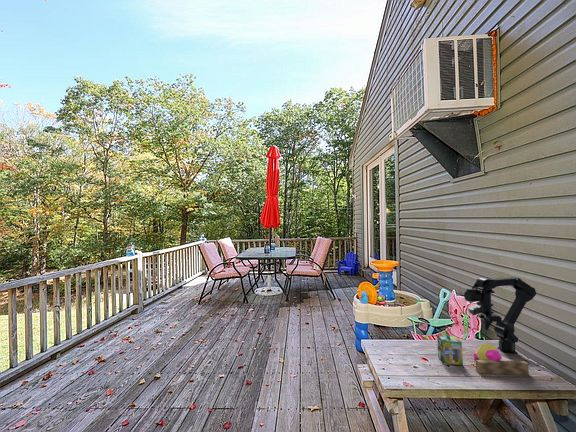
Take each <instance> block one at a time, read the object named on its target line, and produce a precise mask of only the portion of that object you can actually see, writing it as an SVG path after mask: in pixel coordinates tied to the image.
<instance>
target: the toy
mask: <svg viewBox="0 0 576 432" xmlns="http://www.w3.org/2000/svg"><path fill="white" fill-rule="evenodd" d="M473 358H474V359H475V360H496V361H502V360H501V359H502V355H501V354H500V352H499V350H498V349H497V348H496V347H495V345H494V344H486V343H485V344H483V343H482V344H480V346H479V348H477V349H476V350H475V351H473Z"/></svg>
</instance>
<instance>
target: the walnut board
mask: <svg viewBox="0 0 576 432" xmlns="http://www.w3.org/2000/svg"><path fill="white" fill-rule="evenodd" d="M475 371H476V372H477V373H478V374H490V375H491V374H493V375H525V376H526V375H527V376H529V375H530V374H529V372H530V370H529V363H528V362H526V361H525V360H500V361H496V360H480V359H475Z"/></svg>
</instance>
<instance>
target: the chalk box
mask: <svg viewBox="0 0 576 432" xmlns="http://www.w3.org/2000/svg"><path fill="white" fill-rule="evenodd" d="M444 332H445V334H437V336H436V337H437V340H436V341H437V357H438V358H439V360H440V361H441V362H442V364H443V365H454V366H455V365H457V366H458V365H459V366H464V361H463V344H462V341H461V340H460V339H459V338H458V337H457V336H455V335H450V334H449V331H447V330H444Z"/></svg>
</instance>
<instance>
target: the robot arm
mask: <svg viewBox="0 0 576 432" xmlns="http://www.w3.org/2000/svg"><path fill="white" fill-rule="evenodd" d="M507 286H512V289H513V288H514V290H515V292H514V295H515V298H514V300H513V302H512V304H511V306H510V307H509V309H508V311H507V313H506V314H505V316H504V317H503V318H502V317H501V316H500V315H498V314H496V313H495V314H494V311H493V310H492V308H493V306H494V303H492V294H495V293H496V291H494V290H495V288H497V287H507ZM536 295H537V290H536V288H535V287H533V286H531V285H530V284H528V283H526V282H525V281H524V280H522V279H521V278H520V277H516V276H511V277H510V276H509V277H499V278H488V277H478V278H477V279H476V281H475V283H473V286H472V288H466V290H465V291H464V293H463V297H464V299H465V301H466V302H467V303H468V302H470V303H471V302H472V303H474V302H476V304H474V305H472V306H468V307H467V310H468V313H469V314H470V315H472V316H477V317H478V318H479V319H480V320H481V324H482V326H483V329H484V330H485V331H487V330H488V329H489V328H490V326H491V325H492V323H493V322H494V323H495V324H494V328H493V332H494V333H495V334H496V337H497V338H498V340H499V341H498V347H497V350H500V351H501V352H503V353H504V354H518V351H516V343H518V341H519V337H517V335H516V334H515V331H516V330H515V324H516V322H517V320H518V319H519V316H520V314H521V313H522V311H523V309H524V307H525V306H526V304H527V303H529V302H530V301H532V300H533V299H534V298H535V297H536Z"/></svg>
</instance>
